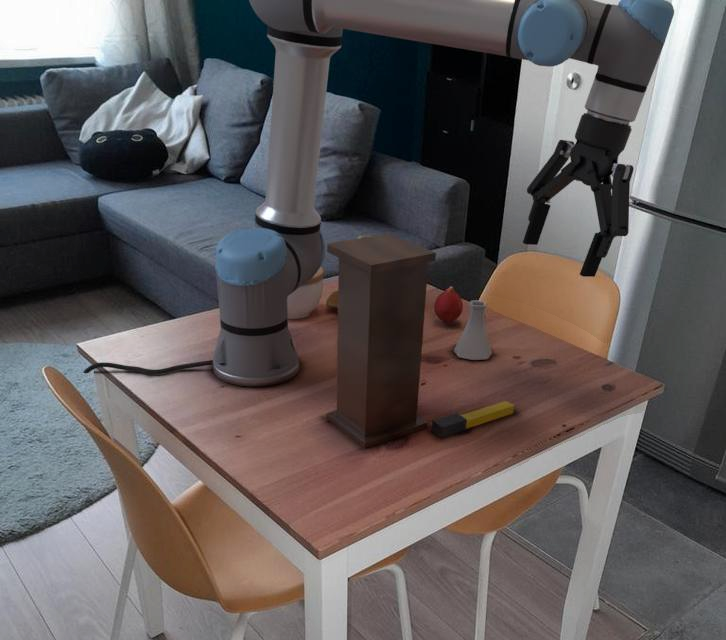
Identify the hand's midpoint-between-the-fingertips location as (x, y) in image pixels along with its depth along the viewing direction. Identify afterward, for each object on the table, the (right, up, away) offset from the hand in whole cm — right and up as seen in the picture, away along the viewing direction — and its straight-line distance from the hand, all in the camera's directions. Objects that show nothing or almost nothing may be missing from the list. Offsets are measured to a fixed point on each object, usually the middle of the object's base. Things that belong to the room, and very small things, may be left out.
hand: (557, 259), depth 127 cm
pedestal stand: (-29, -26, 0) cm, 39 cm away
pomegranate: (-14, -3, +36) cm, 39 cm away
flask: (-10, -11, +24) cm, 29 cm away
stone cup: (-30, +1, +42) cm, 52 cm away
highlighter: (-13, -26, +2) cm, 29 cm away
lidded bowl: (-46, 0, +39) cm, 60 cm away
